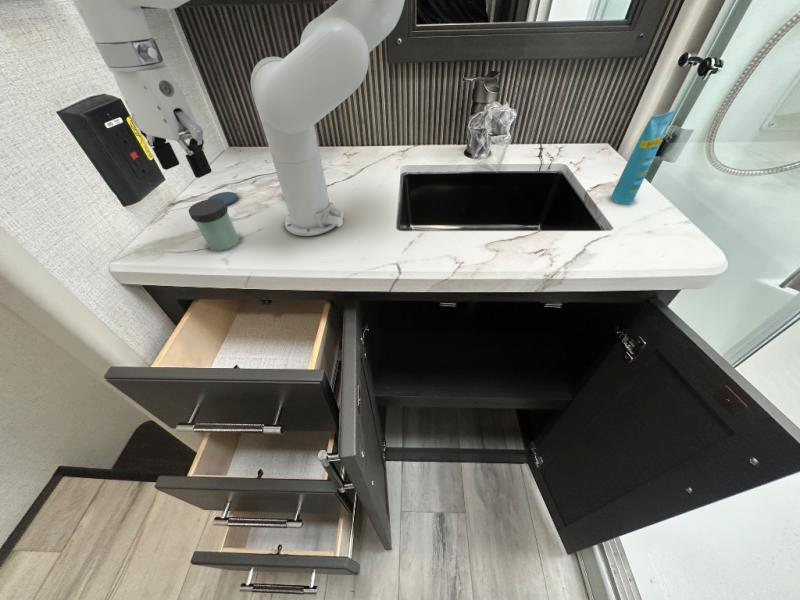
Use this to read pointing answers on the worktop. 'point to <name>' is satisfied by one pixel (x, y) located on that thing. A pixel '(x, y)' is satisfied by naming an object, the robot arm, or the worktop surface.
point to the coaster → (226, 197)
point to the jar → (219, 233)
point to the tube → (641, 159)
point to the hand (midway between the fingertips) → (187, 170)
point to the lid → (208, 210)
